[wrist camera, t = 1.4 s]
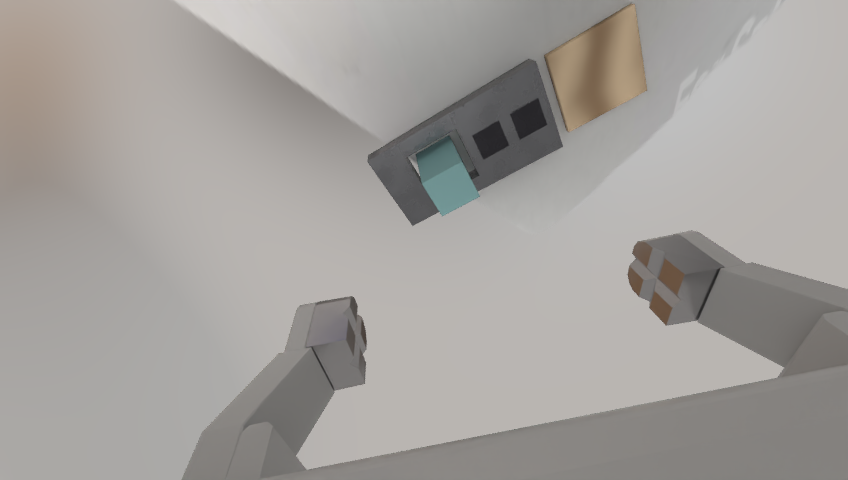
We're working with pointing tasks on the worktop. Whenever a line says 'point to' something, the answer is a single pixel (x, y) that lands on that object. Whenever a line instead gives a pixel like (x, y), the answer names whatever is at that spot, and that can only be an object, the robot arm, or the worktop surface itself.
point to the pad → (598, 69)
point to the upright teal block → (445, 176)
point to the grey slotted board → (475, 137)
